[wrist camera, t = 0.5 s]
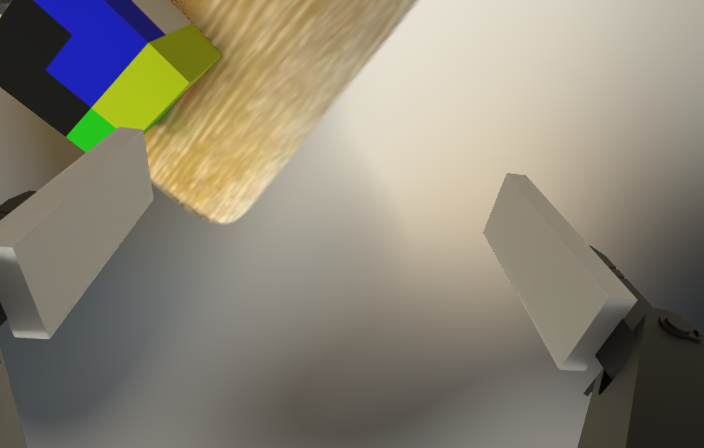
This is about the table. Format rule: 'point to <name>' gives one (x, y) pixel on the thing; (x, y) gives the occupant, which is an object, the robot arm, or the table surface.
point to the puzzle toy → (100, 62)
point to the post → (4, 5)
